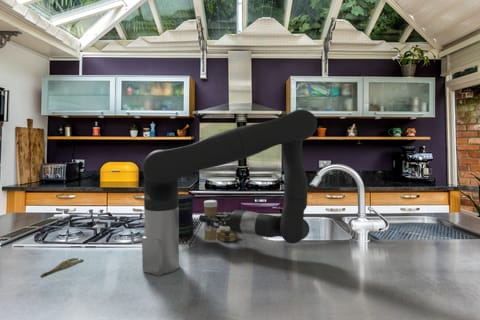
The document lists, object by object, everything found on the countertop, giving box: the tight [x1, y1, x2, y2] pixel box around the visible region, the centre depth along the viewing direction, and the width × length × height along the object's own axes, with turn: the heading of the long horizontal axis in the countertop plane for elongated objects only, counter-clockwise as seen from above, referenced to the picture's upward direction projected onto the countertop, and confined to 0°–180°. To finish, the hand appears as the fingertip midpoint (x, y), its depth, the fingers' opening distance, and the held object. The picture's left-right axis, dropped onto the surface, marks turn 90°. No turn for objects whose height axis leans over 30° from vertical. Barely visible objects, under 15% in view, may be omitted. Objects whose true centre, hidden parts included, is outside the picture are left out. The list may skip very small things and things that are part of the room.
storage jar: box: [178, 193, 195, 240], centre depth 115 cm, size 10×10×15 cm
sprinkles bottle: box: [203, 199, 218, 241], centre depth 107 cm, size 5×5×13 cm
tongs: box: [40, 257, 84, 278], centre depth 86 cm, size 4×13×2 cm, turn 167°
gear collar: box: [216, 228, 238, 242], centre depth 112 cm, size 7×7×2 cm
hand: (204, 216), depth 108 cm, fingers closed on sprinkles bottle, 4 cm apart
